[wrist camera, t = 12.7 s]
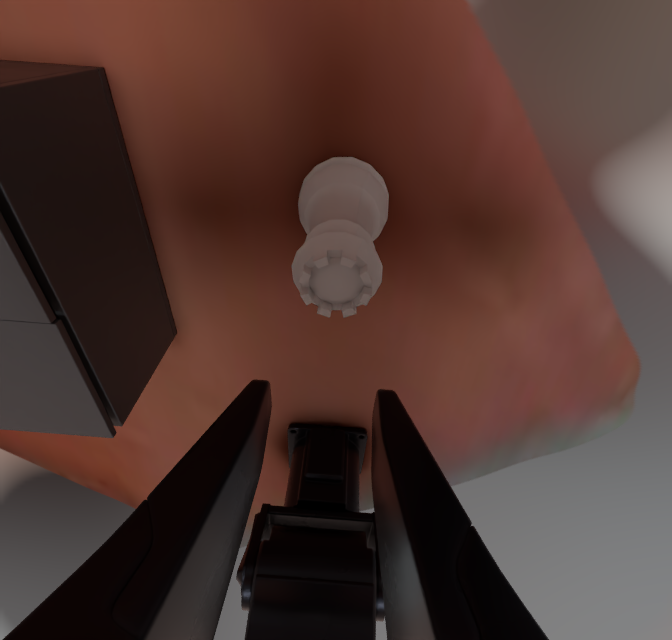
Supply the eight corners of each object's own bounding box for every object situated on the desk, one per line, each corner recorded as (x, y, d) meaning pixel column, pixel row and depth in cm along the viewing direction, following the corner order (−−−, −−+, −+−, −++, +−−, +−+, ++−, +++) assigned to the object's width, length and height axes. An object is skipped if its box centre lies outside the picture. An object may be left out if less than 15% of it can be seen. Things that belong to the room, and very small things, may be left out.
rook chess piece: (328, 133, 17) (310, 199, 11) (407, 186, 18) (430, 273, 12) (284, 212, 20) (248, 303, 13) (356, 254, 21) (354, 355, 15)
